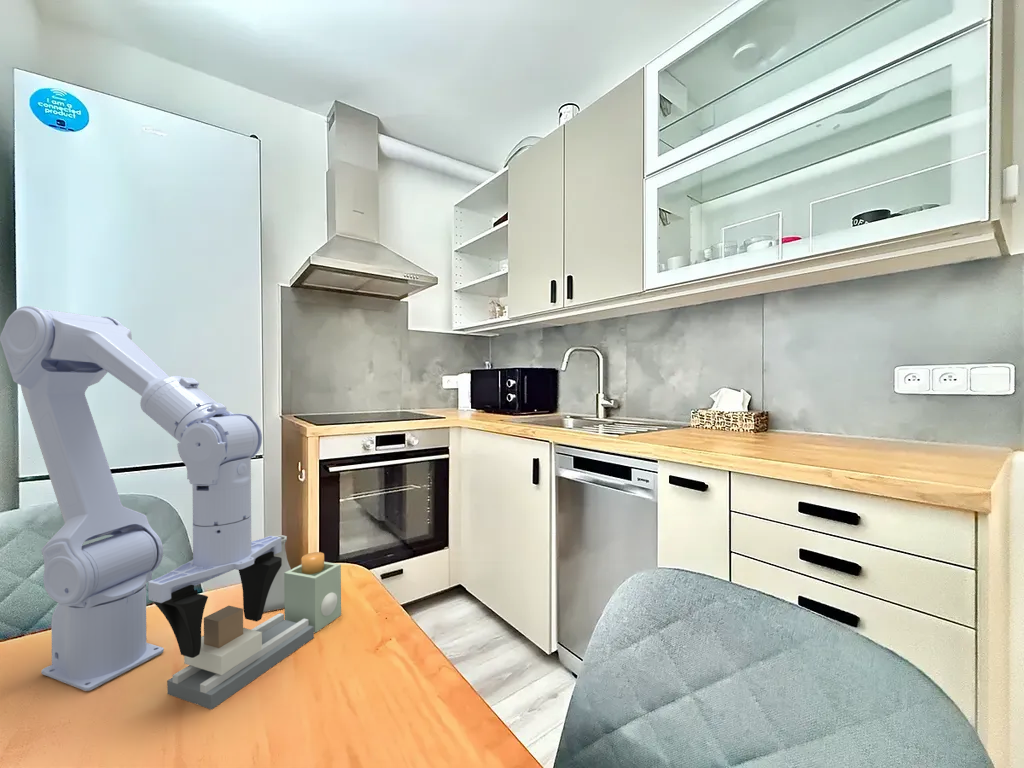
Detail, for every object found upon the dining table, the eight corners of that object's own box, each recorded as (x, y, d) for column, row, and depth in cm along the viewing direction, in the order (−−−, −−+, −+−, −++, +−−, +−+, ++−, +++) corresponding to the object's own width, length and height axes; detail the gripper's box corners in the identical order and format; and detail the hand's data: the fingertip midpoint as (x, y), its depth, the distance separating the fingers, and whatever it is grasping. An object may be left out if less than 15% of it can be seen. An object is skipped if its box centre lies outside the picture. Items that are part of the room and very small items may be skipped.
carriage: (184, 663, 50) (183, 619, 50) (226, 639, 55) (225, 599, 55) (221, 675, 48) (221, 629, 48) (262, 649, 53) (261, 607, 53)
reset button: (296, 572, 63) (296, 558, 63) (313, 564, 66) (312, 551, 66) (313, 575, 62) (313, 561, 62) (328, 567, 65) (328, 553, 65)
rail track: (167, 694, 49) (167, 673, 49) (275, 628, 62) (274, 611, 62) (211, 709, 46) (211, 687, 46) (313, 637, 60) (313, 620, 60)
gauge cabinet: (284, 625, 63) (284, 572, 63) (311, 608, 67) (311, 559, 67) (316, 633, 61) (315, 578, 61) (342, 615, 65) (341, 564, 65)
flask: (293, 586, 75) (293, 527, 75) (308, 601, 70) (307, 538, 70) (245, 601, 70) (244, 538, 70) (256, 618, 65) (255, 550, 65)
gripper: (180, 544, 43) (181, 682, 43) (298, 505, 57) (300, 611, 57) (134, 536, 46) (135, 667, 46) (258, 501, 59) (259, 602, 59)
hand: (223, 635), depth 51 cm, fingers open, 7 cm apart
